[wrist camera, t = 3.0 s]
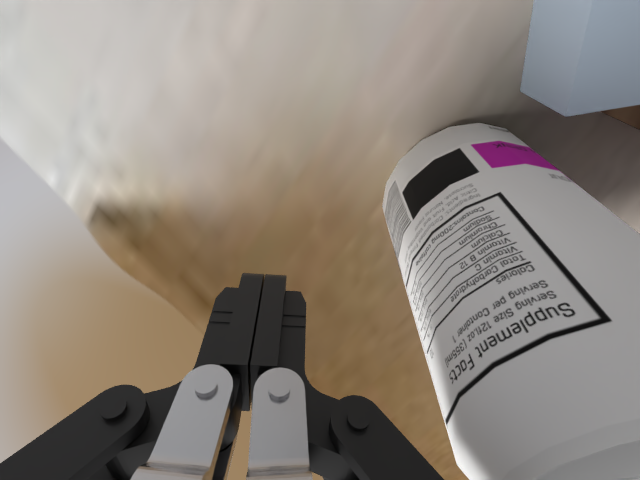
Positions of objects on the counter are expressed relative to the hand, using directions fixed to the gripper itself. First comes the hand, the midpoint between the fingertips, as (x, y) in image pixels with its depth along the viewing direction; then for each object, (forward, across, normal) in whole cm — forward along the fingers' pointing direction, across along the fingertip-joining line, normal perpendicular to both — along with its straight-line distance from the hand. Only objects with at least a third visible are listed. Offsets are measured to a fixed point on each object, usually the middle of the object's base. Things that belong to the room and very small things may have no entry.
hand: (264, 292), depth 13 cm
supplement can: (+9, -10, 0) cm, 13 cm away
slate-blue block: (+9, -13, -8) cm, 18 cm away
